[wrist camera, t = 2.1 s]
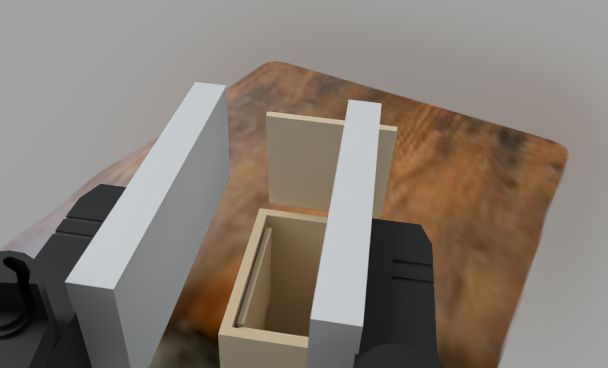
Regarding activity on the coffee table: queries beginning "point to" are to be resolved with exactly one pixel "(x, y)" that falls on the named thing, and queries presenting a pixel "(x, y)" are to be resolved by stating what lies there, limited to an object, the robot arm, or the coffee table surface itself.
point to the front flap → (315, 160)
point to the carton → (274, 293)
